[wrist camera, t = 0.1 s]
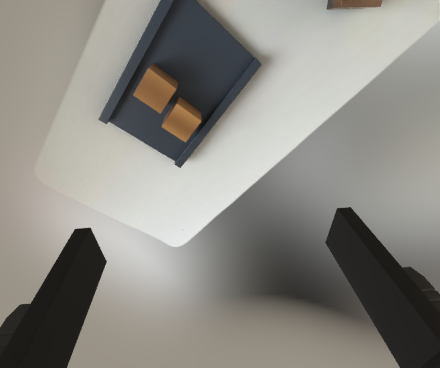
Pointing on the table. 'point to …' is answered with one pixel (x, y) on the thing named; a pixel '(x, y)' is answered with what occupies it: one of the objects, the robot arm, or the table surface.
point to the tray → (181, 75)
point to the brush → (353, 4)
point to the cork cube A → (156, 88)
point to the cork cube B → (182, 119)
